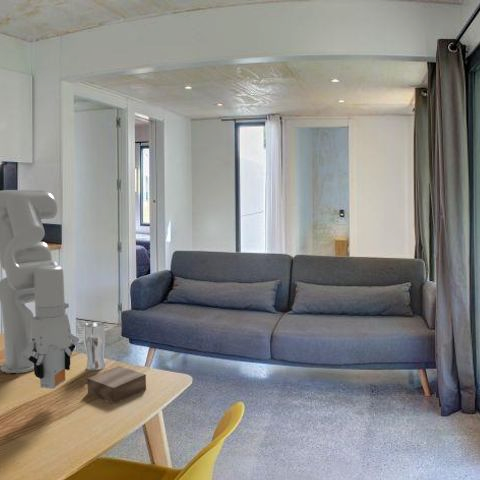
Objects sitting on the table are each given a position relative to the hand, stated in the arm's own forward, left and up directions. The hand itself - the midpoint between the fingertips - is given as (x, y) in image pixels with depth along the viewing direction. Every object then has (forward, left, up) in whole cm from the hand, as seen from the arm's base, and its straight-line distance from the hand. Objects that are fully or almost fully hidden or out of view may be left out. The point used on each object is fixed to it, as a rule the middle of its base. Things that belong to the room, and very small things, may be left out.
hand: (52, 372), depth 134 cm
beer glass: (-16, +24, -10) cm, 30 cm away
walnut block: (+6, +17, -10) cm, 20 cm away
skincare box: (0, 0, -4) cm, 4 cm away
